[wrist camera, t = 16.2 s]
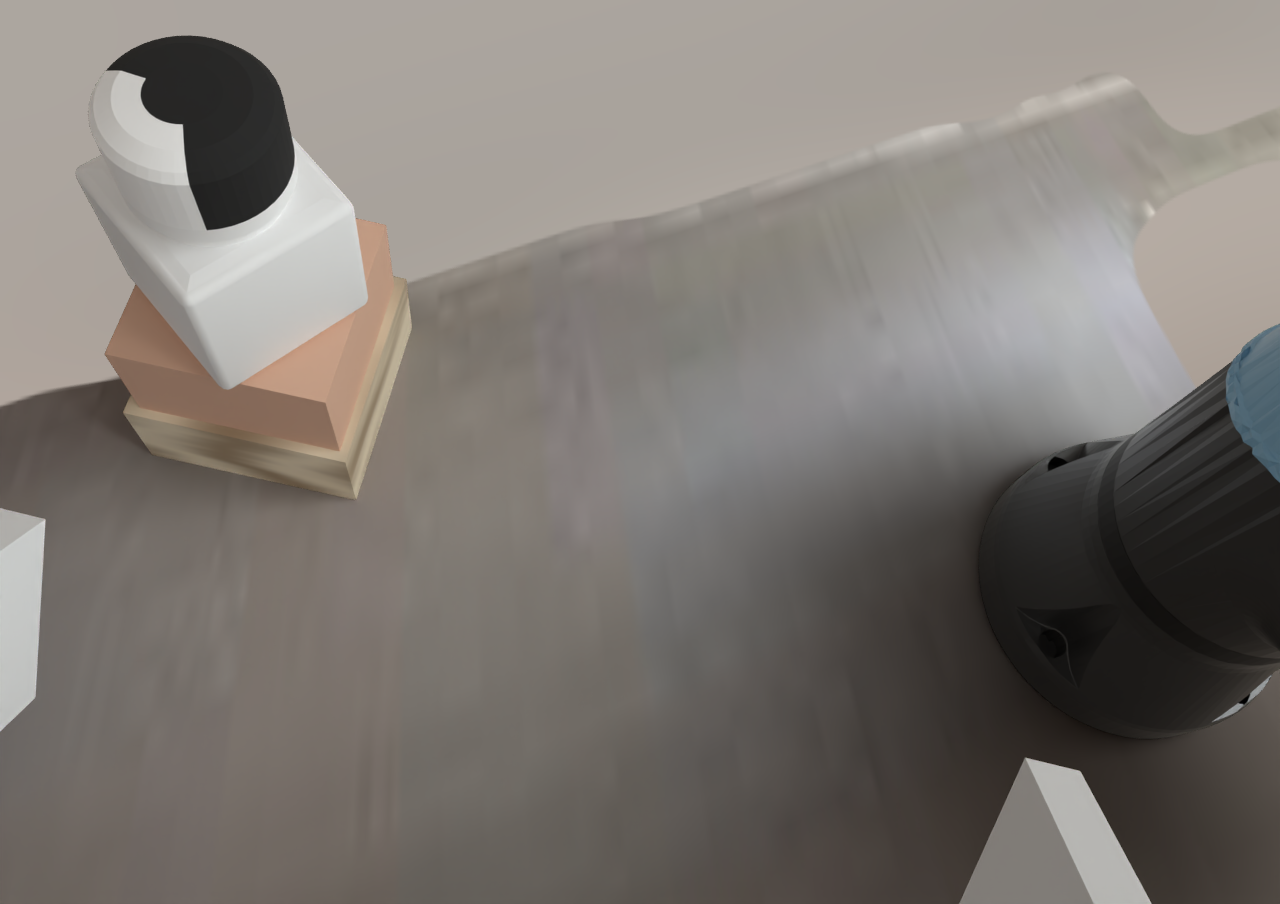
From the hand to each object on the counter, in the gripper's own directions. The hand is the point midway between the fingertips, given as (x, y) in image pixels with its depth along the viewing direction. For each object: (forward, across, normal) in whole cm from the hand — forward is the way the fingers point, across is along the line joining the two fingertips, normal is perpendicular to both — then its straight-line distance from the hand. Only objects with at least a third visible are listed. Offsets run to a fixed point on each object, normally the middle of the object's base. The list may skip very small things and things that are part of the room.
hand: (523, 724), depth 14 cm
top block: (+36, -16, -8) cm, 40 cm away
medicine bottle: (+32, -16, -5) cm, 36 cm away
